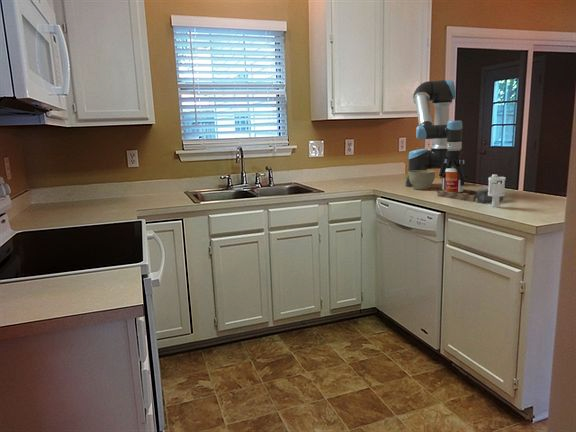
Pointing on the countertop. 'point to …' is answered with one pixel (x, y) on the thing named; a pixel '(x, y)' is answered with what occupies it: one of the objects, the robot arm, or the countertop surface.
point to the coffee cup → (452, 180)
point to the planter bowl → (421, 178)
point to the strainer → (496, 189)
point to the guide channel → (469, 195)
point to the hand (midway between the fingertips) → (452, 190)
